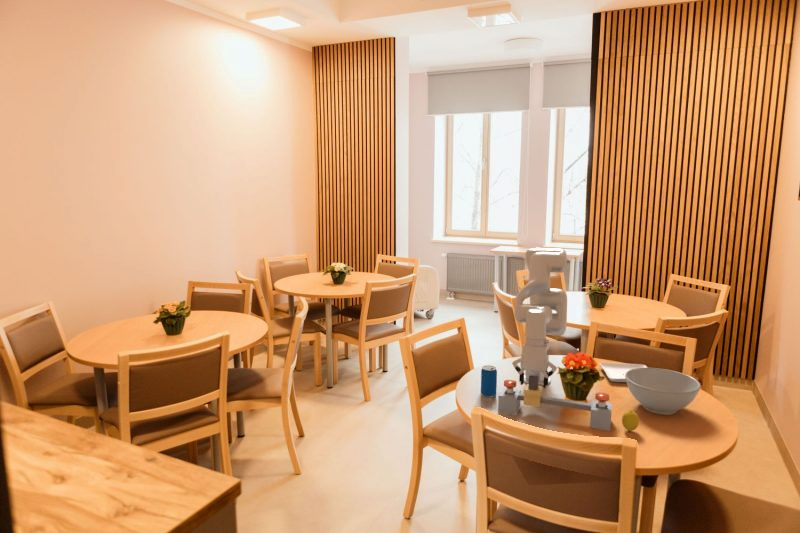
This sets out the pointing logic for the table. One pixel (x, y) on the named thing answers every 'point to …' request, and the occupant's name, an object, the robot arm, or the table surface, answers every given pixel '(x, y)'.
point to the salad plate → (619, 370)
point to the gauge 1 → (510, 386)
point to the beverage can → (488, 381)
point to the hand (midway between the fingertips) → (533, 384)
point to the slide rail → (597, 418)
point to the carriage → (533, 391)
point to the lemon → (630, 420)
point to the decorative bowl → (662, 389)
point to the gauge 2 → (602, 399)
